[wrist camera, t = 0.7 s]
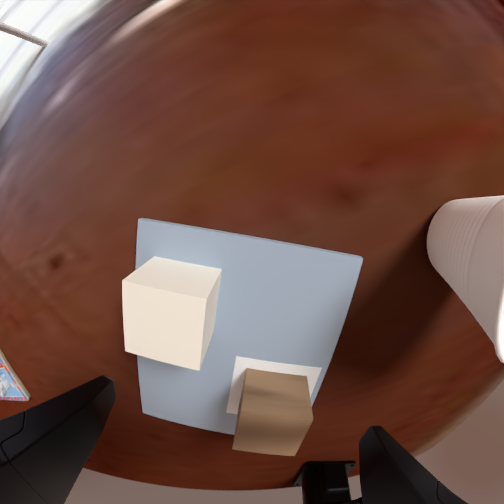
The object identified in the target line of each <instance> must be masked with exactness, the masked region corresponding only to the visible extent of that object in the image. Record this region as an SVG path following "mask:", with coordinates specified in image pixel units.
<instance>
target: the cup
mask: <svg viewBox="0 0 504 504" xmlns="http://www.w3.org/2000/svg"><path fill="white" fill-rule="evenodd" d="M427 253H428V256H429V260H430V262H431V264H432V266H433V267H434V268H435V269H436V271H437V272H438V273H439V274H440V275H441V276H442V277H443V279H444V280H445V281H446V282H447V283H448V284H449V285H450V287H451V288H452V289H453V290H454V292H455V293H456V294H457V295H458V296H459V298H460V299H461V300H462V301H463V303H464V304H465V305H466V306H467V308H468V309H469V310H470V311H471V313H472V314H473V315H474V317H475V318H476V320H477V321H478V323H479V324H480V325H481V327H482V328H483V329H484V331H485V332H486V334H487V335H488V336H489V338H490V339H491V341H492V342H493V344H494V346H495V351H496V354H497V356H498V358H499V360H500V361H501V362H503V363H504V195H502V196H492V197H480V198H467V199H457V200H452V201H449V202H447V203H446V204H444V205H443V206H442V207H441V208H440V209H439V210H438V211H437V212H436V214H435V215H434V217H433V219H432V221H431V223H430V226H429V229H428V235H427Z"/></svg>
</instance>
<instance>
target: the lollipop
mask: <svg viewBox="0 0 504 504" xmlns="http://www.w3.org/2000/svg"><path fill="white" fill-rule="evenodd" d="M0 30H1V31H4V32H6V33H9V34H12V35H15V36H17V37H20V38H22V39H25V40H27V41H30V42H32V43H35V44H37V45H40V46H42V47H46V46H47V44H48V42H47V41H44V40H42V39H40V38H38V37H35V36H33V35H31V34H28V33H26V32H24V31H21V30H19V29H16V28H14V27H11V26H9V25H6V24H3V23H1V22H0Z"/></svg>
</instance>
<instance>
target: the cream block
mask: <svg viewBox="0 0 504 504" xmlns="http://www.w3.org/2000/svg"><path fill="white" fill-rule="evenodd" d="M221 272H222V269H218V268H213V267H207V266H202V265H197V264H191V263H186V262H181V261H176V260H171V259H165V258H160V257H155V256H154V257H153V258H151V259H150V260H149V261H147V262H146V263H145V264H143V265H142V266H141V267H139V268H138V269H137V270H135V271H134V272H133V273H131V274H130V275H129V276H127V277H126V278H125V279H124V280H122V299H123V324H124V340H125V351H126V352H130V353H133V354H136V355H140V356H143V357H146V358H150V359H154V360H157V361H161V362H165V363H168V364H172V365H176V366H180V367H185V368H189V369H193V370H198V371H200V368H201V365H202V362H203V360H204V357H205V354H206V351H207V348H208V346H209V343H210V340H211V337H212V334H213V331H214V325H215V317H216V309H217V302H218V294H219V286H220V279H221Z"/></svg>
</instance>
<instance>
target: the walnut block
mask: <svg viewBox="0 0 504 504" xmlns="http://www.w3.org/2000/svg"><path fill="white" fill-rule="evenodd" d="M312 421H313V414H312V407H311V400H310V393H309V386H308V380H307V376H302V375H293V374H285V373H277V372H270V371H263V370H256V369H250V368H247V369H246V374H245V379H244V384H243V388H242V393H241V398H240V402H239V407H238V413H237V420H236V427H235V434H234V441H233V447H232V449H234V450H240V451H247V452H255V453H264V454H274V455H287V456H295V454H296V452H297V450H298V449H299V447H300V445H301V443H302V441H303V439H304V437H305V435H306V433H307V431H308V429H309V427H310V425H311V423H312Z"/></svg>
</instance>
